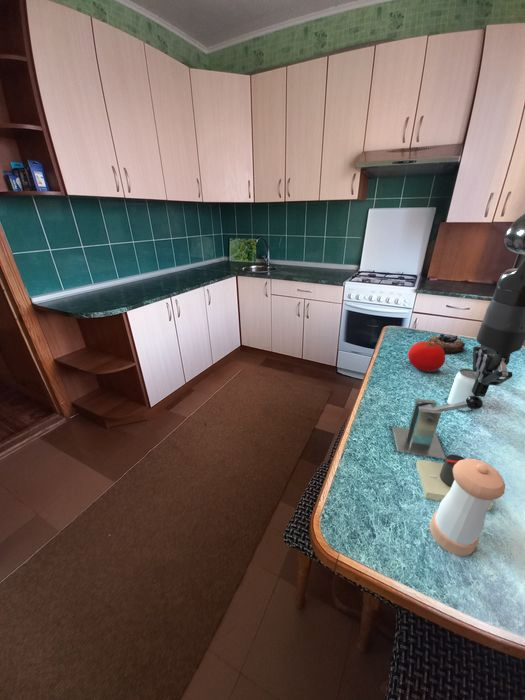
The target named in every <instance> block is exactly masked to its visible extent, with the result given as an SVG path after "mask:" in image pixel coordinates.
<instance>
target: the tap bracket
mask: <svg viewBox="0 0 525 700" xmlns="http://www.w3.org/2000/svg"><path fill="white" fill-rule="evenodd" d="M428 404H431V406H432V407H437V401H436V400H432V399H423V398H416V399H415V402H414V405H413V409H412V412H411V416H410V421H409V423H408V427H407V428H402V427H396V426H392V433H393V438H394V442H395V443H394V444H395V447H396V451H397V452H400V453H405V454H412V455H419V456H423V457H430V458H436V459H441V460H442V459H443V460H445V459H446V457H447V456H446V455H445V452H444V450H443V447H442V445H441V442H440V440H439V436H438V435H437V433H436V430H437V428H438V425H439V421H440V419H441V415H442V412H440V411H436V410H428V409H420V410H419V407H418V406H423V405H428Z"/></svg>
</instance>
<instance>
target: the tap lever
mask: <svg viewBox="0 0 525 700" xmlns="http://www.w3.org/2000/svg"><path fill="white" fill-rule="evenodd" d="M483 404H484V403H483V399H482V398H481V397H479V396H469V397H468V398H467V399H466V401H463V402H458V403H453V404H448V403H447V404H442V405H438V406H437V405H436V407H432V406H431V404H428V405H423V406H418V407H419V410H420V409H428V410H436V411H440V412H441V413H443V412H444V413H445V412H449V411H450V412H451V411H454V410H455V411H456V410H458V409H461V408H466V407H468V408H470V409H471V410H472V411H477V410H480V409H481V408H483Z"/></svg>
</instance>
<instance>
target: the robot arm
mask: <svg viewBox="0 0 525 700" xmlns="http://www.w3.org/2000/svg"><path fill="white" fill-rule="evenodd" d="M503 239H504V240H503V241H504V245H505V247H506V248H507V249H508V250H509V251H510V252H513V253H515V254H519V255H522V256H525V213H523V214H522V215H520V216H519V217H518V218H517V219H515V220H514V221H513V222H512V223H511V225H509V227H508V229H507V230H506V232H505V234H504V238H503ZM482 318H483V319H482V321H481V324H480V327H479V330H478V333H477V335H476V342H477V343H478V344H479V345H480V346H475V345H474V346H473V347H472V370H473V372H476V374H475V378H476V380H475V383H474V386H473V388H472V393H473V394H474V395H475V396H477V397H479V398H484V397H485V396H486V395H487V392H488V390H489V387H490V386H495V387H497V386H499V385H501V384H503V383H504V382H506V381H508V380H510V379H512V378H513V372H512V371H508V369H507V366H508V364H509V363H510V361H511V360H510V359H511V355H512V354H513V353H515V352H519V351H520V350H521V349H522V348H523V346H524V343H525V258H524V259H523V261H522V262H521V263H520V265H519V266H518V267H516V268H509V269H506V270H505V271H503V272H502V273H501V275H500V277H499V278H498V281H497V284H496V286H495V290H494V292H493V294H492V297H491V301H490V302H489V304H488V306H487V308H486V310H485V313H484V315H483V317H482Z"/></svg>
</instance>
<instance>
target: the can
mask: <svg viewBox="0 0 525 700" xmlns="http://www.w3.org/2000/svg"><path fill="white" fill-rule="evenodd" d="M475 374H476V372H473V368H472V369H471V368H461V369H460V370H459V371H458V372H457V373H456V374H455V377H454V380H453V383H452V385H451V389H450V391H449V394H448V398H447V401H446V403H447V405H448V404H453V403H458V402H463V401H466V399H467V398H468V397H469V396H475V395H474V394H473V393H472V388H473V386H474V383H475V380H476V378H475ZM457 410H459V411H463V412H468V411H472V409H470V408H468V407H466V408H461V409H457Z"/></svg>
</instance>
